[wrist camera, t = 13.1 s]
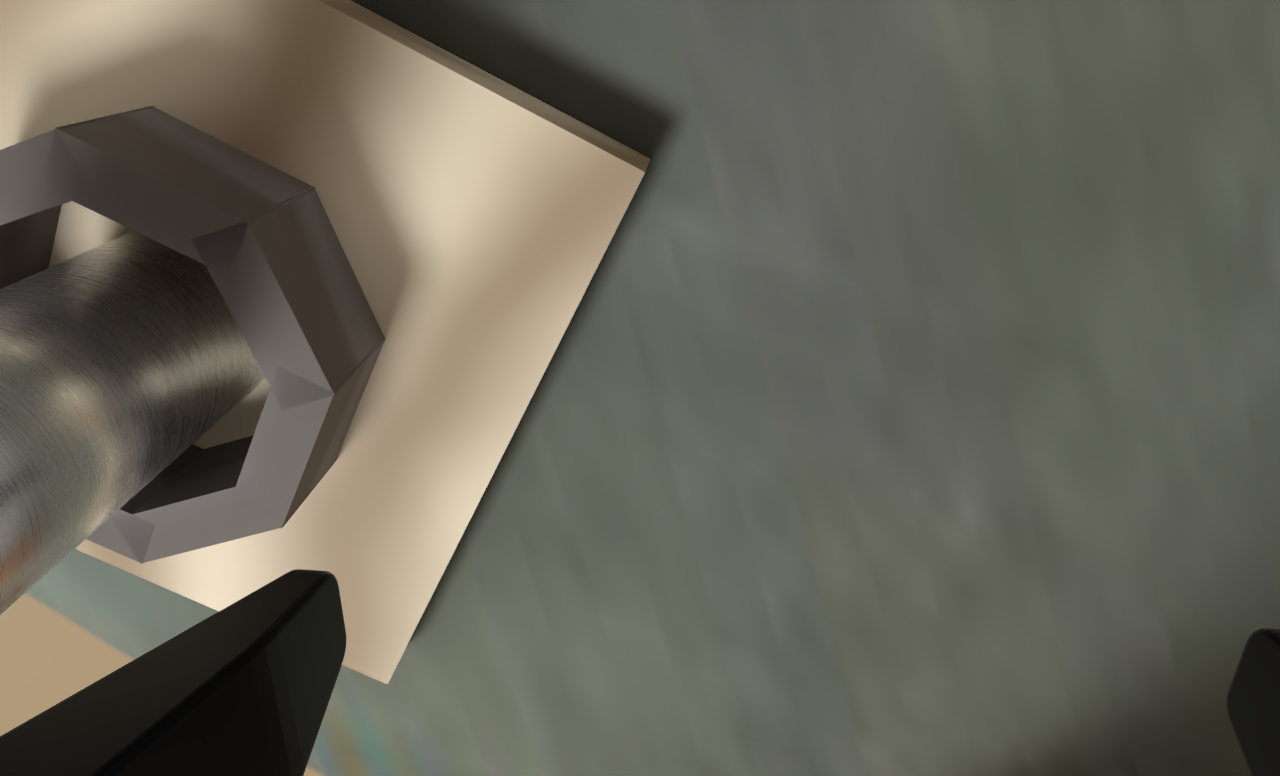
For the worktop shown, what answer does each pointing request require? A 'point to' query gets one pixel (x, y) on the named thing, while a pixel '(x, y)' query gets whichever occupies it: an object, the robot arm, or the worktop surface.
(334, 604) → the robot arm
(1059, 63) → the worktop surface
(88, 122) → the socket board
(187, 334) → the pin
